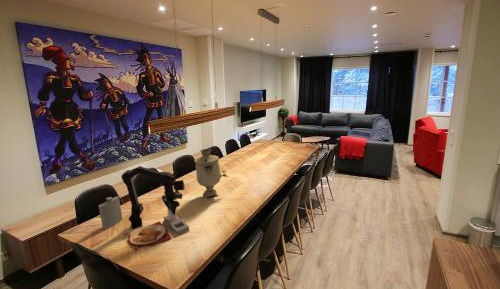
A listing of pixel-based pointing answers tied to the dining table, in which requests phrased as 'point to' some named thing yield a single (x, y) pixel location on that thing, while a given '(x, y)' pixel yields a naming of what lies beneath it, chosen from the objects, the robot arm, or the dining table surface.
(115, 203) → the hip flask
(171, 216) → the aluminium block
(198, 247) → the dining table surface
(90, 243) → the dining table surface
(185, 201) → the dining table surface
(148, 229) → the plate with food
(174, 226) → the parts holder
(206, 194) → the samovar
